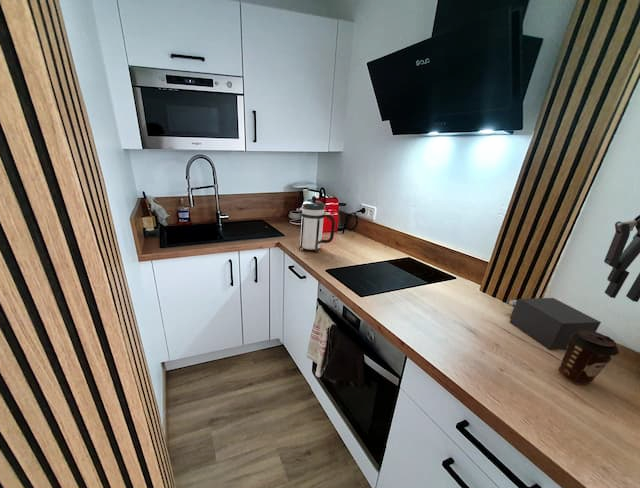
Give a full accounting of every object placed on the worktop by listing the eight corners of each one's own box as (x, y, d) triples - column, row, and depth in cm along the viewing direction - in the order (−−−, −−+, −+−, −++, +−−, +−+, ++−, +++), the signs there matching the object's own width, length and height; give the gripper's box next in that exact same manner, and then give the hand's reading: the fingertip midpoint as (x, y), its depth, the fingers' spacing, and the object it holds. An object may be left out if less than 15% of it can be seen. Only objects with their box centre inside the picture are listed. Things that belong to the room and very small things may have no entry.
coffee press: (305, 255, 155) (308, 199, 143) (293, 246, 169) (295, 194, 156) (332, 252, 161) (338, 198, 149) (319, 243, 174) (323, 193, 162)
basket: (499, 311, 104) (507, 293, 101) (527, 311, 106) (536, 292, 102) (545, 342, 88) (555, 321, 85) (578, 341, 89) (589, 320, 86)
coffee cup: (600, 381, 75) (626, 341, 70) (592, 395, 71) (619, 353, 65) (557, 361, 82) (578, 323, 76) (548, 373, 77) (569, 334, 72)
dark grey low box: (509, 322, 100) (519, 298, 96) (542, 321, 101) (553, 297, 97) (549, 349, 86) (562, 323, 83) (586, 348, 88) (601, 322, 84)
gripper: (723, 195, 57) (657, 298, 66) (615, 188, 63) (568, 283, 73) (761, 201, 51) (682, 313, 60) (636, 193, 57) (582, 296, 66)
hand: (620, 296), depth 66 cm, fingers open, 3 cm apart
